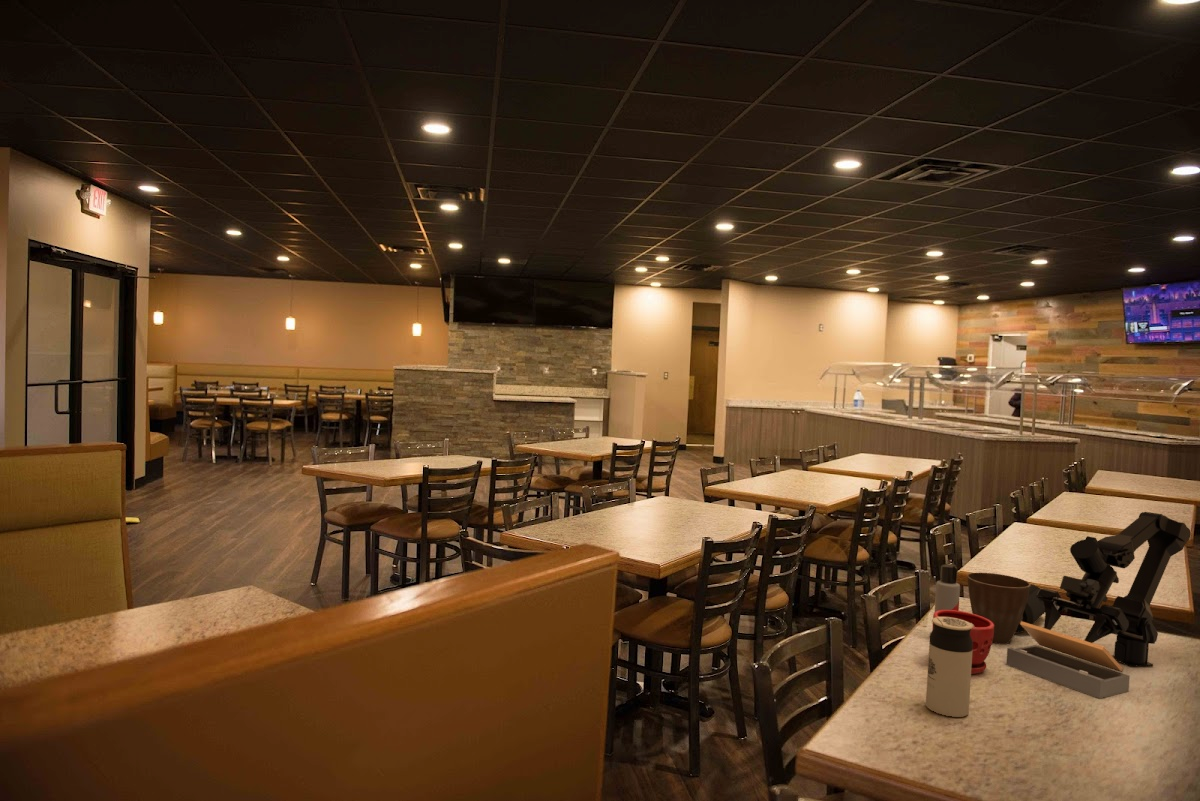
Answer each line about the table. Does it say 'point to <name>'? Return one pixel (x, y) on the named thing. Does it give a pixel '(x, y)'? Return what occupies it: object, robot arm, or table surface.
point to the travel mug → (949, 667)
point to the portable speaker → (1031, 608)
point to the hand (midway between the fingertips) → (1064, 638)
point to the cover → (1072, 646)
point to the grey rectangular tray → (1068, 671)
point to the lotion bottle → (947, 589)
